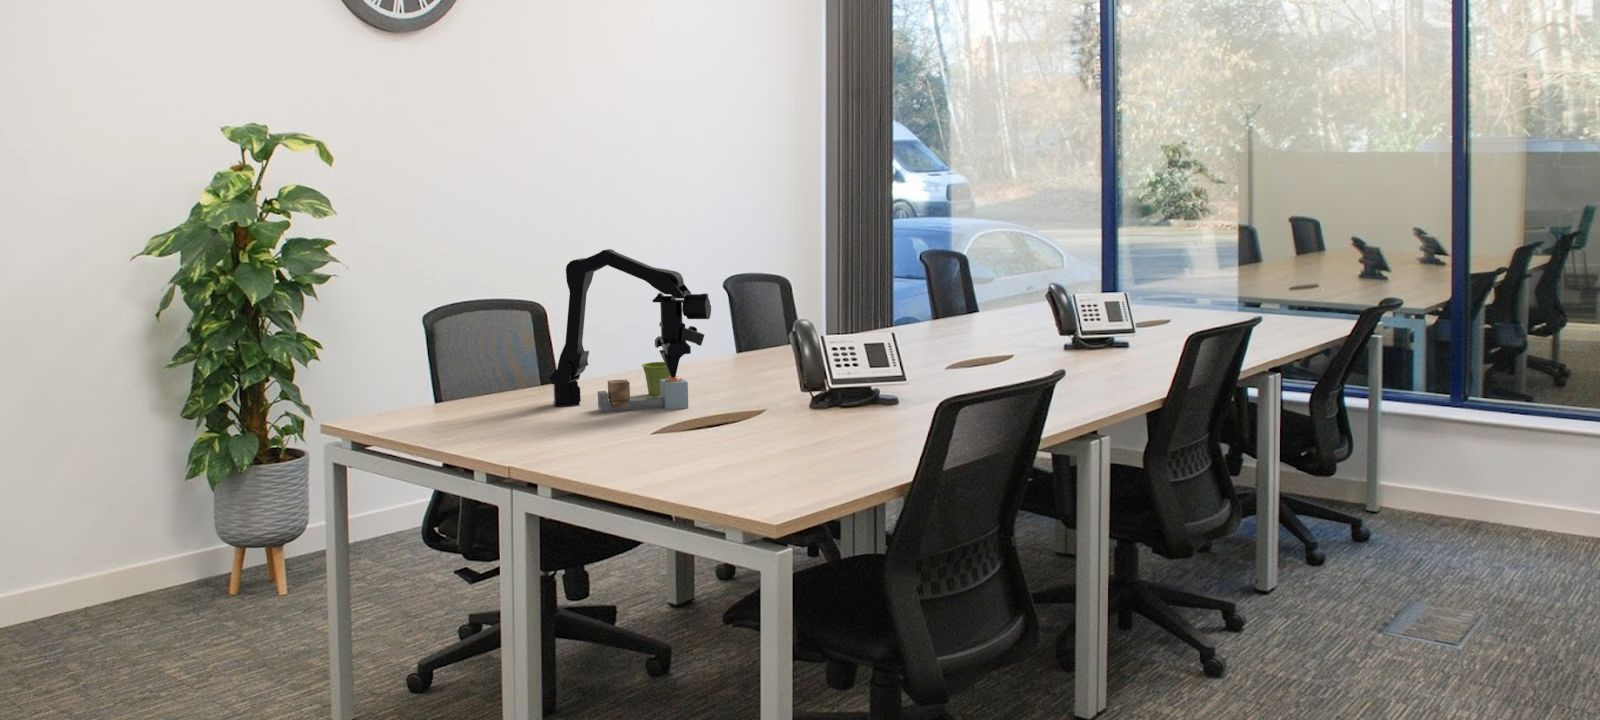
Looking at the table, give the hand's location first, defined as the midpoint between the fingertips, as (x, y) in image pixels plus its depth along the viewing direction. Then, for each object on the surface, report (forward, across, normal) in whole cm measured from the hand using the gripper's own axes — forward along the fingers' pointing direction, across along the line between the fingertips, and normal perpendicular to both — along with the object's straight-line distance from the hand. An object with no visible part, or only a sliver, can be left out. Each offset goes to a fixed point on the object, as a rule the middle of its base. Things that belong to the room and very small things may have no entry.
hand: (673, 377), depth 366 cm
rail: (+8, 0, +10) cm, 13 cm away
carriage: (+7, 0, +15) cm, 16 cm away
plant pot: (+8, +21, 0) cm, 23 cm away
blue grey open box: (+8, 0, 0) cm, 8 cm away
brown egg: (+4, 0, 0) cm, 4 cm away
